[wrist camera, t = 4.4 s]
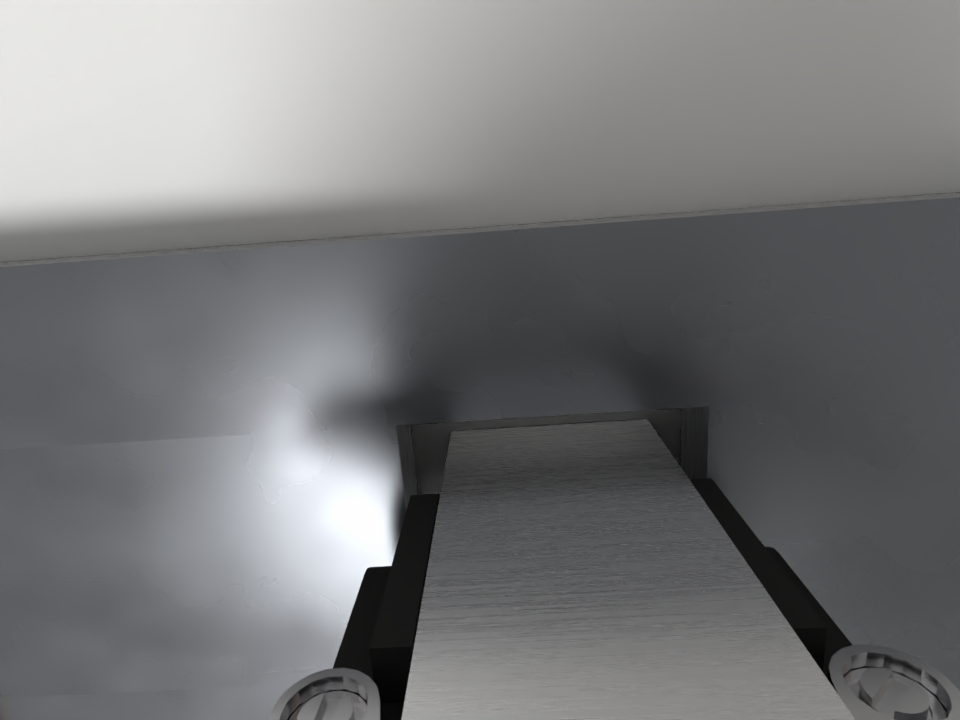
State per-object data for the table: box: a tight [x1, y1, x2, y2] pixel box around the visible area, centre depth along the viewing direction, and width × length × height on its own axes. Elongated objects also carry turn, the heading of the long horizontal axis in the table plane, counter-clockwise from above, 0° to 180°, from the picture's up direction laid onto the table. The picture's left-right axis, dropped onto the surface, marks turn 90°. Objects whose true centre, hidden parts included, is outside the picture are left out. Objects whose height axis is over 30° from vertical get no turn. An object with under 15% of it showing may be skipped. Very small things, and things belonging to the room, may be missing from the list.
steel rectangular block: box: [401, 419, 855, 720], centre depth 9 cm, size 4×4×8 cm
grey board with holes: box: [0, 192, 960, 720], centre depth 12 cm, size 34×12×2 cm, turn 94°
